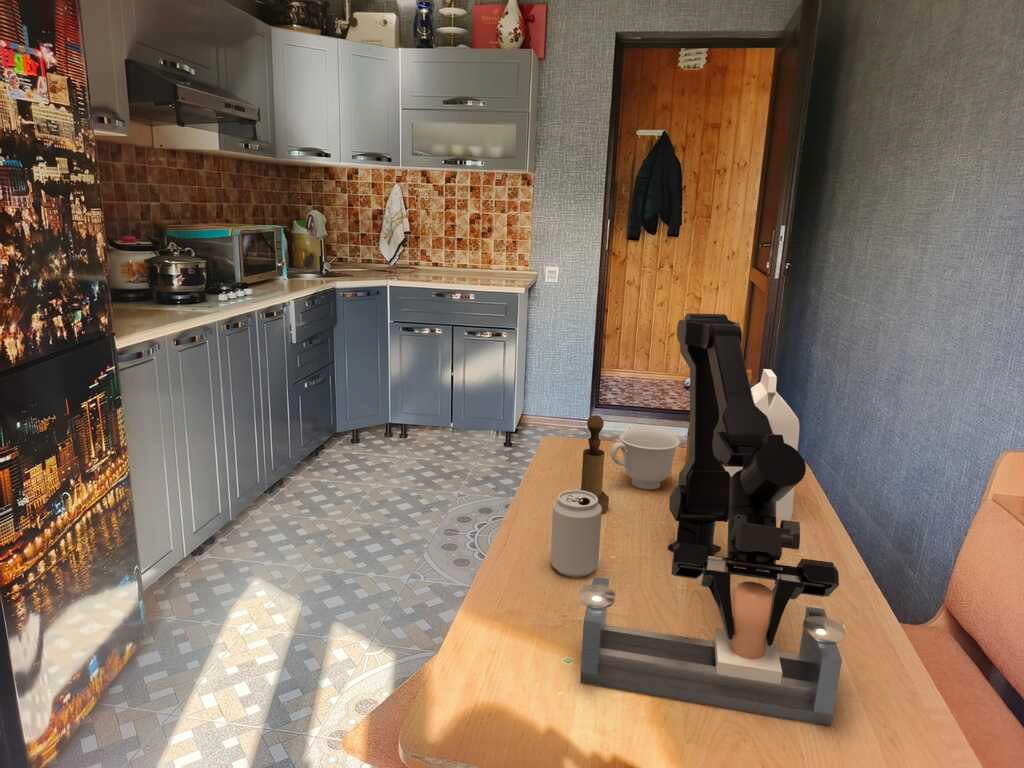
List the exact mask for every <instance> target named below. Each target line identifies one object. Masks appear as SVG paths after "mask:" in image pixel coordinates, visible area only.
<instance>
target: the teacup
mask: <svg viewBox="0 0 1024 768" xmlns="http://www.w3.org/2000/svg"><path fill="white" fill-rule="evenodd" d="M618 436H619V440H620V441H621V442H620V441H619V442H615V443H614V444H613V445H612V446H611V449H610V451H609V453H610V458H611V461H612V462H614V463H615V464H616V465H619V466H623V467H624V470H625V473H626V475H627V476H628V477H629V478H631V479H632V480H631V484H632V485H633V486H634V487H636V488H637V489H638V488H639V489H643V490H656V489H659V488H660V487H661V482H663V481H664V480H666V479H667V478H668V477H669V475H670V474H671V471H672V467H673V462H674V457H675V453H676V450H677V447H678V446H679V445H680V444H681V439H680V438H679V437H678V436H677V435H675V434H673V433H671V432H669V431H665V430H661V429H654V428H648V427H647V428H642V427H641V428H632V429H627V430H623V432H621V433H620V434H619V435H618ZM619 449H620V450H621V453H622V454H623V460H620V459H618V458H617V451H618V450H619Z"/></svg>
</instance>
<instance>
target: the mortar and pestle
mask: <svg viewBox="0 0 1024 768" xmlns="http://www.w3.org/2000/svg"><path fill="white" fill-rule="evenodd" d="M604 425H605V423H604V419H603V417H601V415H597V414H596V415H595V414H593V415H591V416H590V417H588V418H587V420H586V426H587V428H588V430H589V432H590V437H589V438H588V446H589V448H585V449H583V452H582V466H581V467H582V468H581V485H580V488H579V490H583V491H587V492H590V493H592V494H594V495H596V497H597V498H598V503H599V504H600V506H601V508H602V514H605V513H607V512H608V511H609V504H610V503H609V501H610V500H609V499H610V498H609V496H608V495H607V494H606V493H605V492H604V491H603V482H604V481H603V479H604V465H605V464H604V463H605V451H604V450H602V449H600V446H601V443H602V442H601V441H602V439H600V433H601V431H602V429H603V428H604ZM602 514H601V515H602Z"/></svg>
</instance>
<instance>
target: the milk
mask: <svg viewBox="0 0 1024 768" xmlns="http://www.w3.org/2000/svg"><path fill="white" fill-rule="evenodd" d="M777 379H778V378H777V375H776V374H775V373H774V372H773V370H772V369H771V368H770V369H769V368H768V369H767V368H763V369H762V373H761V378H760V382H757V384H755V385H754V386H752V387H751V392H752V396H753V400H754V403H755V406H756V407H758V408H759V409H760V410H761V411H762V412H763V413H764V414H765V415H766V416H767V417H768V420H769V423H770V426H771V429H772V431H773V433H774V434H780V435H783V440H784V443H786V444H788V445H790V446H792V447H793V448H794V449H796V450H797V451H798V452H799V450H798V449H799V448H798V447H799V440H800V439H799V437H800V421H799V420H800V419H799V418H798V416H797V414H795V413H794V411H793V410H792V408H791V407H790V405H788V403H787V402H786V400H785V399H783V397H782V396H781V395H780V394H779V393H778V391H777V382H778V381H777ZM723 467H724V469H725V470H726V471H728V472H729V474H730V476H731V477H732V476H733V475H734V474H735V473H736V472H737V471H739V470H742V468H743V467H725V466H724V465H723ZM794 493H795V487H793V488H792V489H791V490H790V491H789V492H788V493H787V494H786V495H785V496H784V497H783V498H782V499H781V500H779V501H777V502H776V520H780V521H782V520H787V521H792V518H793V507H794V496H795V495H794Z"/></svg>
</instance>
